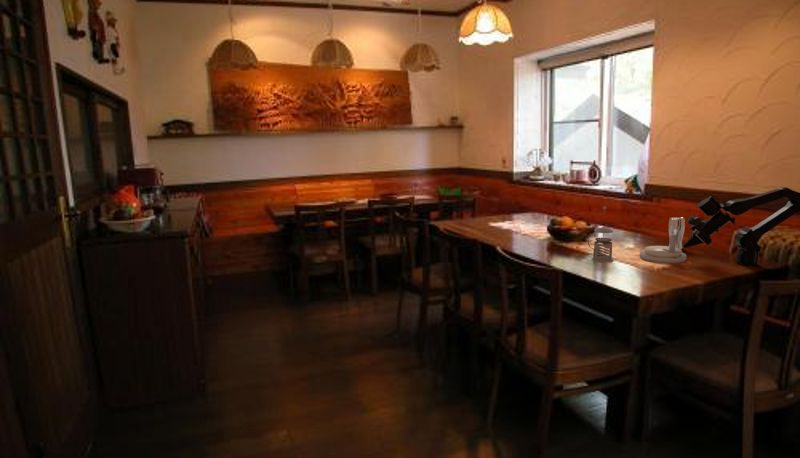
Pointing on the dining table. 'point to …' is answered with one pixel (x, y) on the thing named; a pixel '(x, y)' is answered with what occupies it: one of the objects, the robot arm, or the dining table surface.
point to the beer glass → (677, 229)
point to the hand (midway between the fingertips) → (683, 247)
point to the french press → (605, 243)
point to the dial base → (663, 258)
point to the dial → (664, 249)
